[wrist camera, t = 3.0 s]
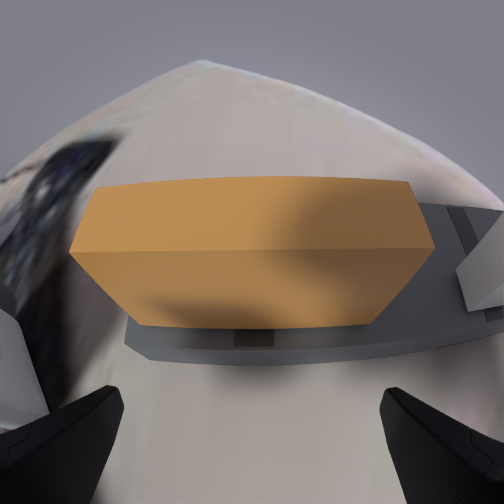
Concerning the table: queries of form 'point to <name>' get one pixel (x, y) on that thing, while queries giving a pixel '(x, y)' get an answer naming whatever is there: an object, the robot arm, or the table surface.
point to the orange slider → (253, 250)
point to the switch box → (355, 336)
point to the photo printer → (17, 378)
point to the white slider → (484, 271)
